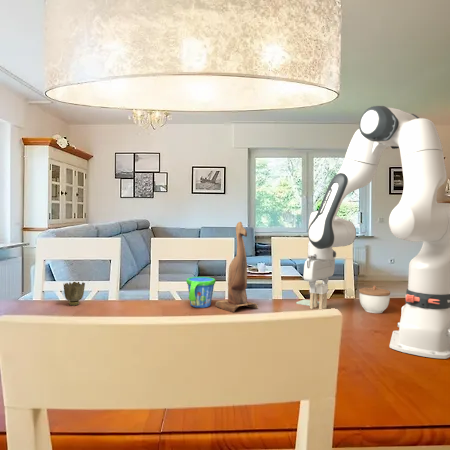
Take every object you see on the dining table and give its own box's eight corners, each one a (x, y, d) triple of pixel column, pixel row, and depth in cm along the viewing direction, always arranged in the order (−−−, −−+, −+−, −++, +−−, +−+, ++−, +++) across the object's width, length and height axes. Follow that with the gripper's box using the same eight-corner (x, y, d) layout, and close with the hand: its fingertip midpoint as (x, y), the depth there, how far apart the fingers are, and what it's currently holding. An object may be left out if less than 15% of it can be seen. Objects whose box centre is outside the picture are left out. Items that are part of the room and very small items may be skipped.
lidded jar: (392, 315, 149) (392, 289, 148) (360, 313, 151) (360, 287, 151) (386, 309, 159) (387, 284, 159) (357, 307, 161) (357, 282, 161)
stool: (321, 310, 154) (322, 286, 154) (309, 308, 157) (309, 284, 157) (327, 308, 158) (327, 284, 158) (314, 306, 161) (315, 282, 161)
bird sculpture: (235, 314, 148) (240, 222, 146) (214, 307, 156) (218, 220, 155) (258, 310, 155) (262, 222, 153) (236, 303, 164) (240, 220, 162)
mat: (312, 306, 161) (313, 304, 161) (296, 303, 165) (296, 302, 165) (320, 303, 167) (320, 301, 167) (304, 300, 171) (304, 299, 171)
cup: (58, 305, 154) (58, 283, 153) (73, 301, 160) (73, 280, 160) (75, 308, 151) (75, 285, 150) (89, 304, 158) (89, 282, 157)
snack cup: (202, 312, 149) (202, 283, 148) (176, 308, 153) (177, 280, 153) (222, 303, 162) (223, 277, 162) (198, 300, 167) (199, 274, 167)
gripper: (316, 256, 147) (315, 296, 147) (338, 252, 163) (337, 288, 164) (299, 254, 150) (298, 293, 151) (322, 251, 167) (321, 286, 167)
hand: (318, 290), depth 157 cm, fingers open, 8 cm apart
